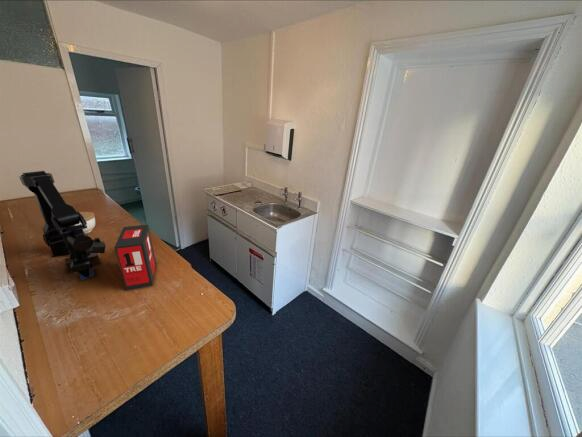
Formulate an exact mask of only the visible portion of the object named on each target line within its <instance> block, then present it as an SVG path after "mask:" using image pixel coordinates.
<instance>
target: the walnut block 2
mask: <svg viewBox="0 0 582 437" xmlns="http://www.w3.org/2000/svg"><path fill="white" fill-rule="evenodd" d="M88 258H91V259H92V262H93V266H97V265H99V264H101V259H100V256H99V253H91V255H89V256H88Z"/></svg>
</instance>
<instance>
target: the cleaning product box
mask: <svg viewBox="0 0 582 437" xmlns="http://www.w3.org/2000/svg"><path fill="white" fill-rule="evenodd" d="M116 240H117V241H116V242H115V245H114V251H115V252H114V253H115V254H116V255H115V256H116V258H117V261H118V265H119V268H120V272H121V276H122V279H123V282H124V286H125V289H126V291H131V290H136V289H142V288H146V287H152V286H153V285H154V278H155V273H156V265H157V260H156V255H155V251H154V246H153V240H152V237H151V231H150V227H149V224H141V225H130V226H123V227H122V230H121V232H120V234H119V236H118V238H117V239H116Z"/></svg>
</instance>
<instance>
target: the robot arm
mask: <svg viewBox="0 0 582 437" xmlns="http://www.w3.org/2000/svg"><path fill="white" fill-rule="evenodd" d="M18 177H19V181H20V182H21V184H22V185H23V186H24V187H25V188H26V189H27V190H28V191H30V192H32V193H33V195H34V197H35V200H36V202H37V204H38V207H39V210H40V212H41V216H42V218H43V220H44V223H45V224H44V225H43V227H42V232H43V234H42V240H43V242H44V244H45V245H46V246H48V247H49V248H50V251H51V253H52V254H51V257H52V258H53V257H63V256H69V258H70V259H73V260H74V261H73V262H72V263H71V270H72V271H71V273H73V274H74V273H78V274H79V273H80V274H82V275H83V276H84V277H89V268H92V267H93V268H94V266H95V265H93V262H92V259H91V258H88V256H89V255H91V253H98V254H101V255H103V254H104V253H105V250H106V242H104V240H101V238H100V237H95V238H94V239H93V238H92V237H91V236H89V235H88V233H84V232H83V229H85V228H87V226H86V224H87V222H86V221H85V219H84V218H83V216H82V214H80V213H79V212H80V211H77V210H76V209H75V207H74V206H73V205H70V204H68V203H67V202H66V201H65V200H64V198H63V196H62V195H61V193H60V192H59V191H58V189H57V187H56V186H55V184H54V183H55V179H54V175H53V174H52V173H50V172H46V171H45V170H37V171H29V172H28V171H26V172H22V174H21V175H19V176H18ZM79 221H80V222H81V224H80V225H77V226H75V225H76V224H79ZM89 278H90V277H89Z"/></svg>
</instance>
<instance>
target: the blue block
mask: <svg viewBox="0 0 582 437" xmlns="http://www.w3.org/2000/svg"><path fill="white" fill-rule="evenodd" d="M94 270H95V269H94V267H92V268H89V277H84V276H83V275H82V274H80V273H78V276H79V278H80V280H81V281H82V280H86V279H89V278H92V277H95V271H94Z"/></svg>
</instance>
